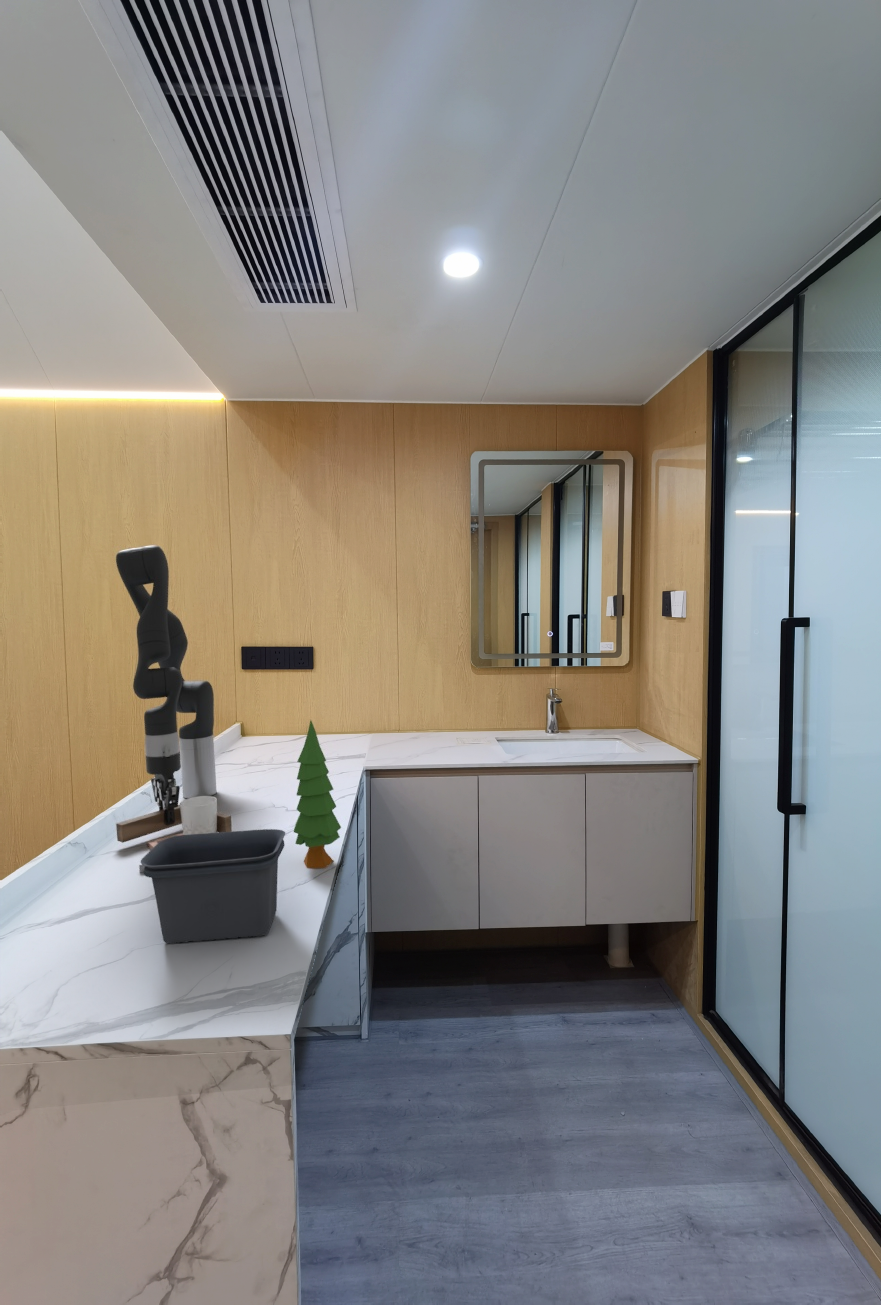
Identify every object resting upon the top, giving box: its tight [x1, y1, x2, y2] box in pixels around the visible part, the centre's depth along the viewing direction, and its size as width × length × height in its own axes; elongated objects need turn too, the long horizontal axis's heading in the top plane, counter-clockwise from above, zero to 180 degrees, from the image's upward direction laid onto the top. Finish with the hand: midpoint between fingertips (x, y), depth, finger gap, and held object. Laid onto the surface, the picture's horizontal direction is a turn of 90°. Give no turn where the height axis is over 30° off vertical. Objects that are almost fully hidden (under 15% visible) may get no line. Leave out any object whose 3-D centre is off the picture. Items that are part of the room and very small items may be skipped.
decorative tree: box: [293, 719, 342, 869], centre depth 130 cm, size 10×9×30 cm
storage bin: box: [140, 828, 286, 944], centre depth 106 cm, size 21×16×14 cm
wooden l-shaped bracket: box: [115, 804, 233, 844], centre depth 145 cm, size 19×17×4 cm
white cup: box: [179, 795, 218, 835], centre depth 144 cm, size 8×8×10 cm
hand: (167, 822), depth 152 cm, fingers closed on wooden l-shaped bracket, 3 cm apart
